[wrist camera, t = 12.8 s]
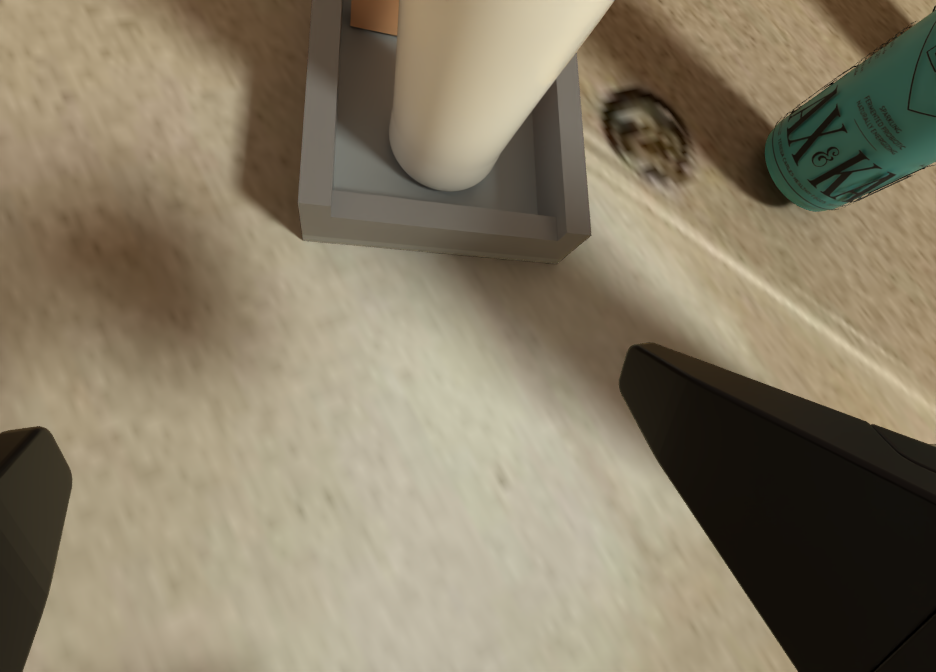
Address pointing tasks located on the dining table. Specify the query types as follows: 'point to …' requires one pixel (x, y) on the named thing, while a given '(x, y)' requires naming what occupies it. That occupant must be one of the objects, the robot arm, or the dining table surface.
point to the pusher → (375, 15)
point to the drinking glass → (476, 79)
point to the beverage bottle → (861, 126)
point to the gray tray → (407, 201)
